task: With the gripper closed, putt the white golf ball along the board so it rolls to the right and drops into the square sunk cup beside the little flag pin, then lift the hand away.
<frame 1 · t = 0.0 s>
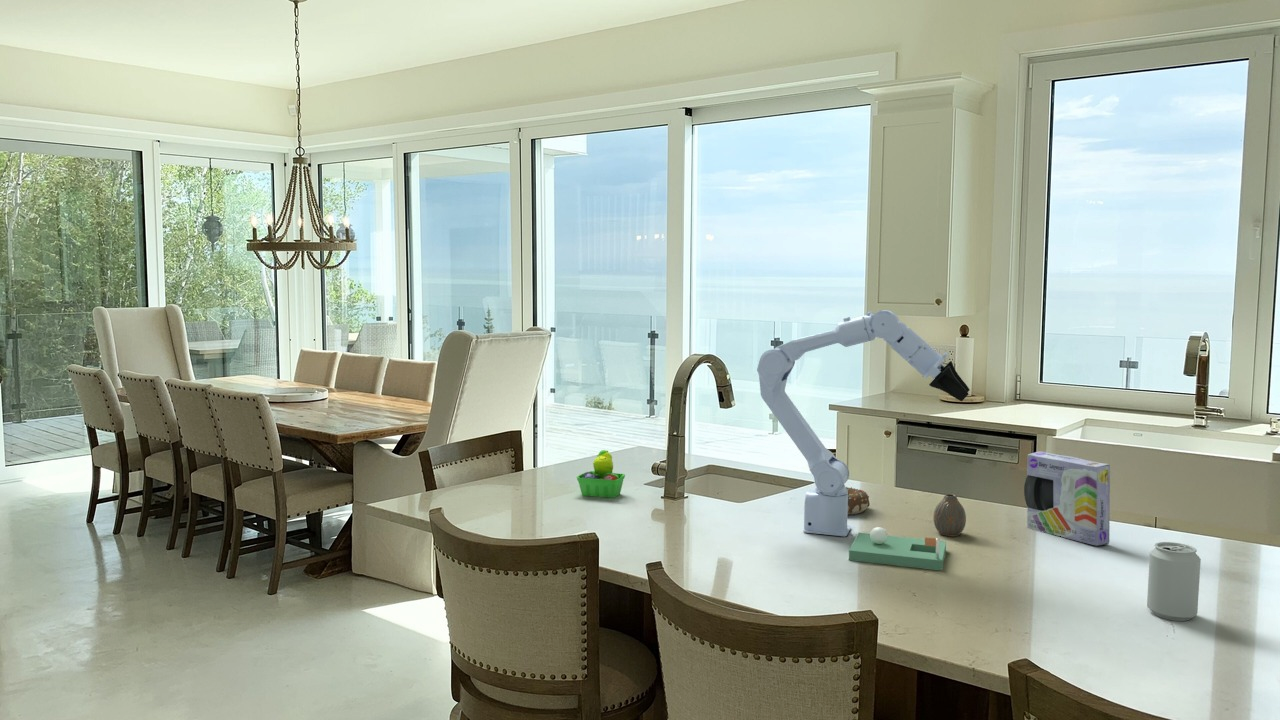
hand: (965, 395, 196), 32 cm above the table, tool tilted 50°, fingers open, 7 cm apart
can: (1171, 615, 158), on the table
board: (898, 555, 191), on the table
fruit basket: (601, 495, 243), on the table
vase: (949, 534, 207), on the table
donut: (840, 510, 229), on the table
ball: (878, 543, 192), point 2 cm above the table, touching board
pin: (936, 568, 182), resting on board
cake pan box: (1064, 536, 206), on the table
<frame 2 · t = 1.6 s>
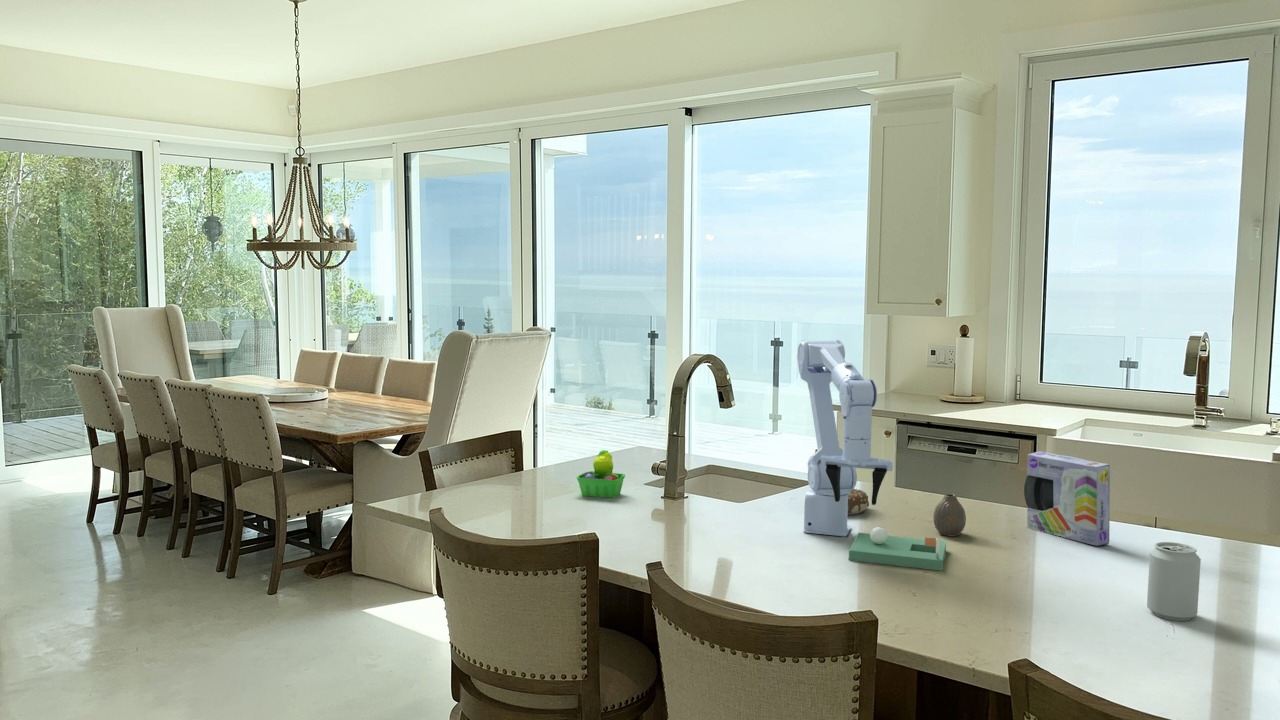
hand: (855, 502, 193), 10 cm above the table, tool pointing down, fingers open, 7 cm apart
nothing on the table moved.
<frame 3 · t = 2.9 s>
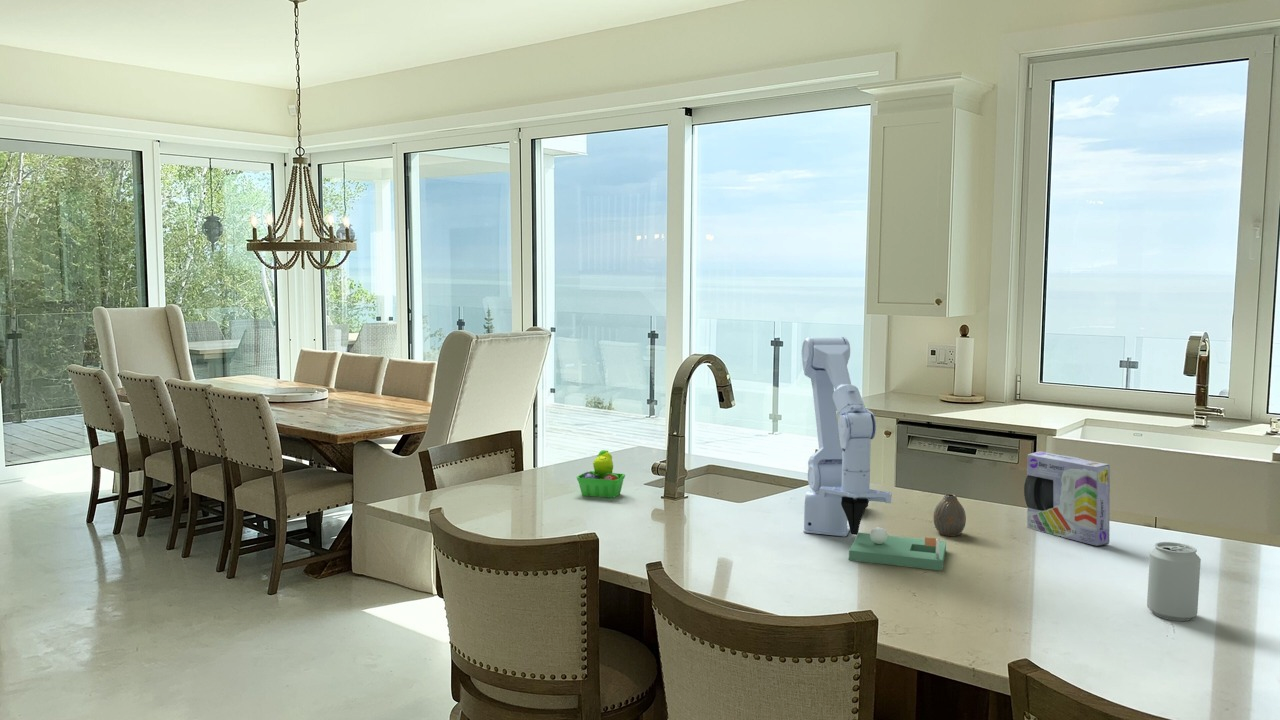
hand: (854, 533, 194), 4 cm above the table, tool pointing down, fingers closed
nothing on the table moved.
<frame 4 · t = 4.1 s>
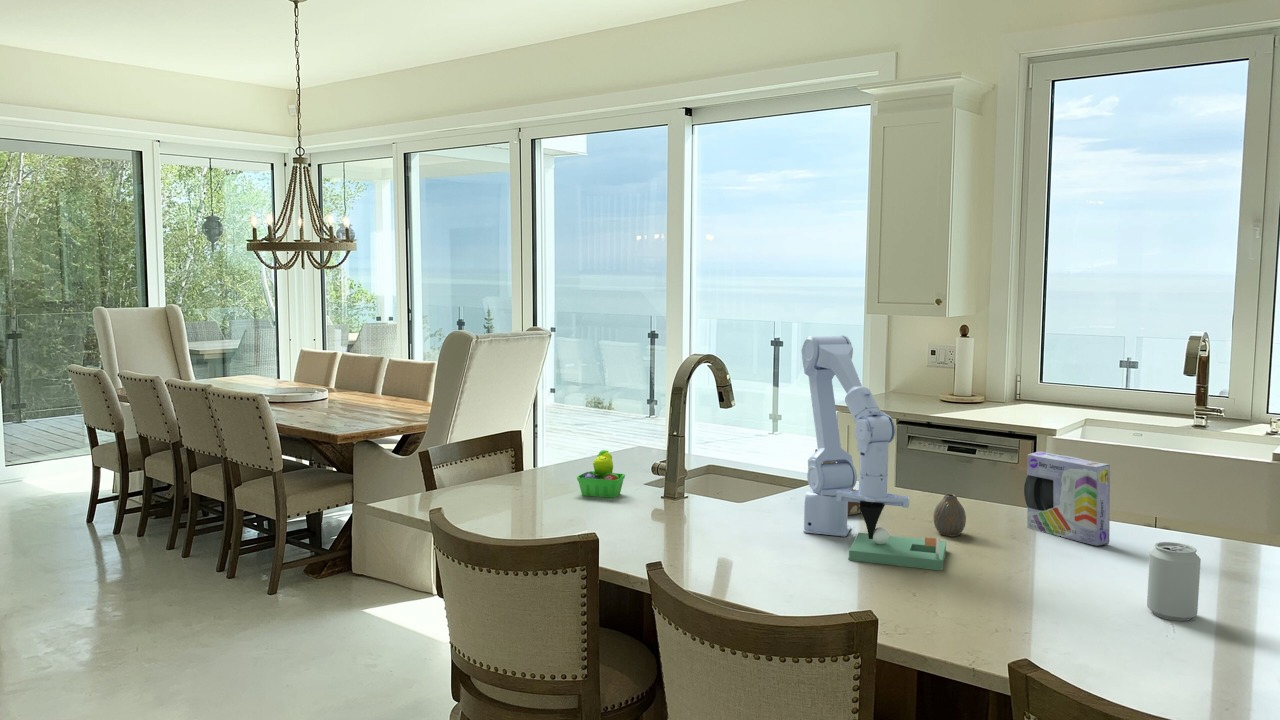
hand: (871, 537, 193), 3 cm above the table, tool pointing down, fingers closed, pressing on ball
ball: (878, 543, 192), point 2 cm above the table, tilted 11°, touching gripper, board
everything else where it was.
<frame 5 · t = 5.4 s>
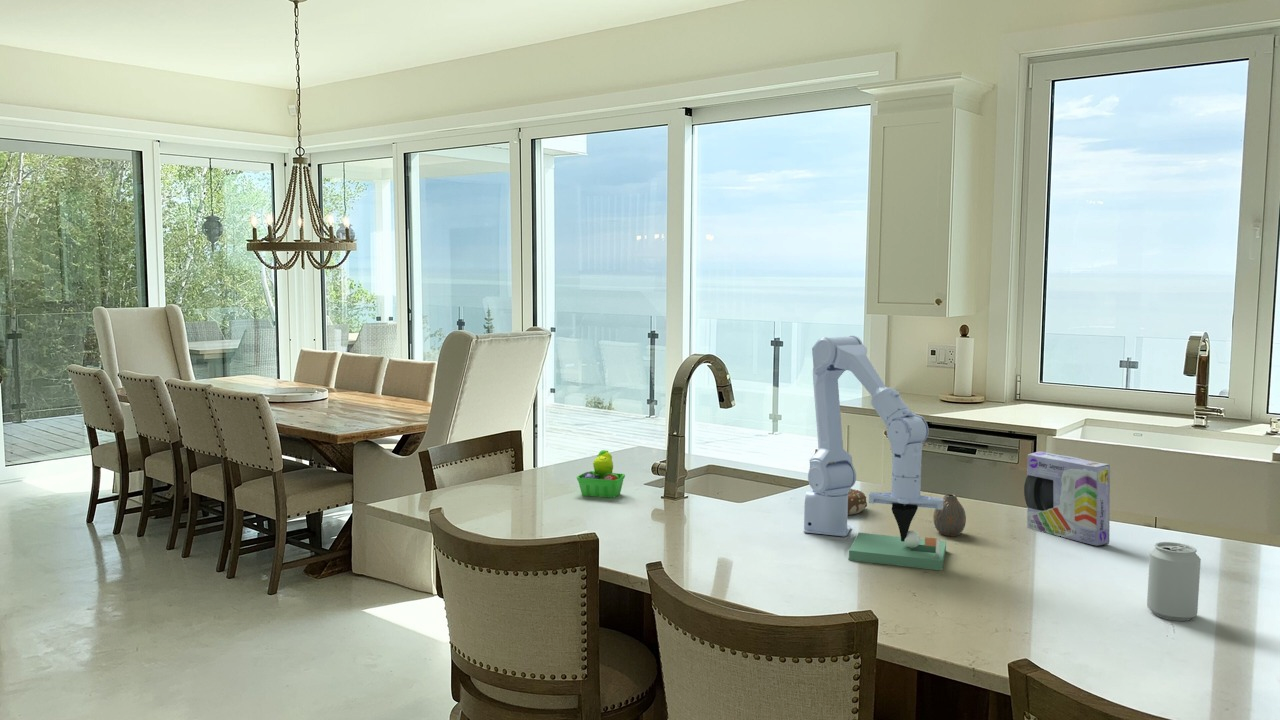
hand: (904, 540, 190), 3 cm above the table, tool pointing down, fingers closed, pressing on ball
ball: (917, 533, 189), point 5 cm above the table, tilted 140°, touching gripper, board
everything else where it was.
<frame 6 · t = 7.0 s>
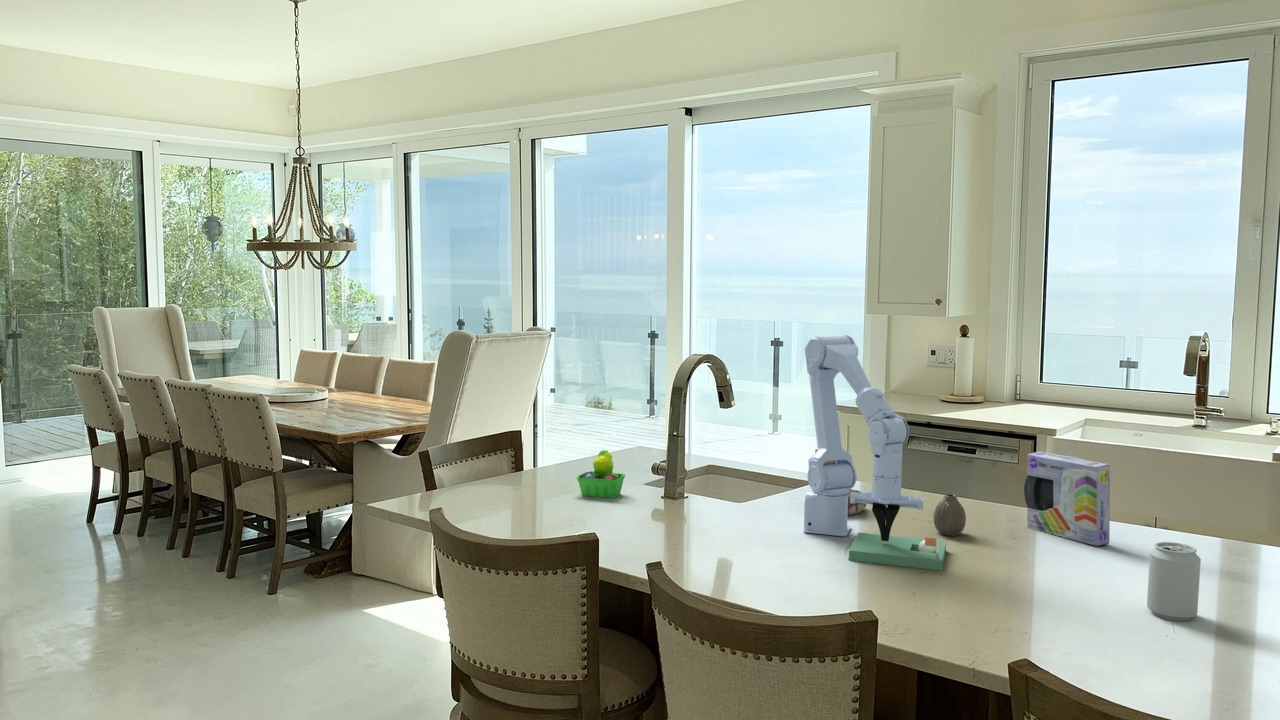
hand: (885, 539, 192), 3 cm above the table, tool pointing down, fingers closed
ball: (933, 554, 188), point 1 cm above the table, tilted 47°, touching board
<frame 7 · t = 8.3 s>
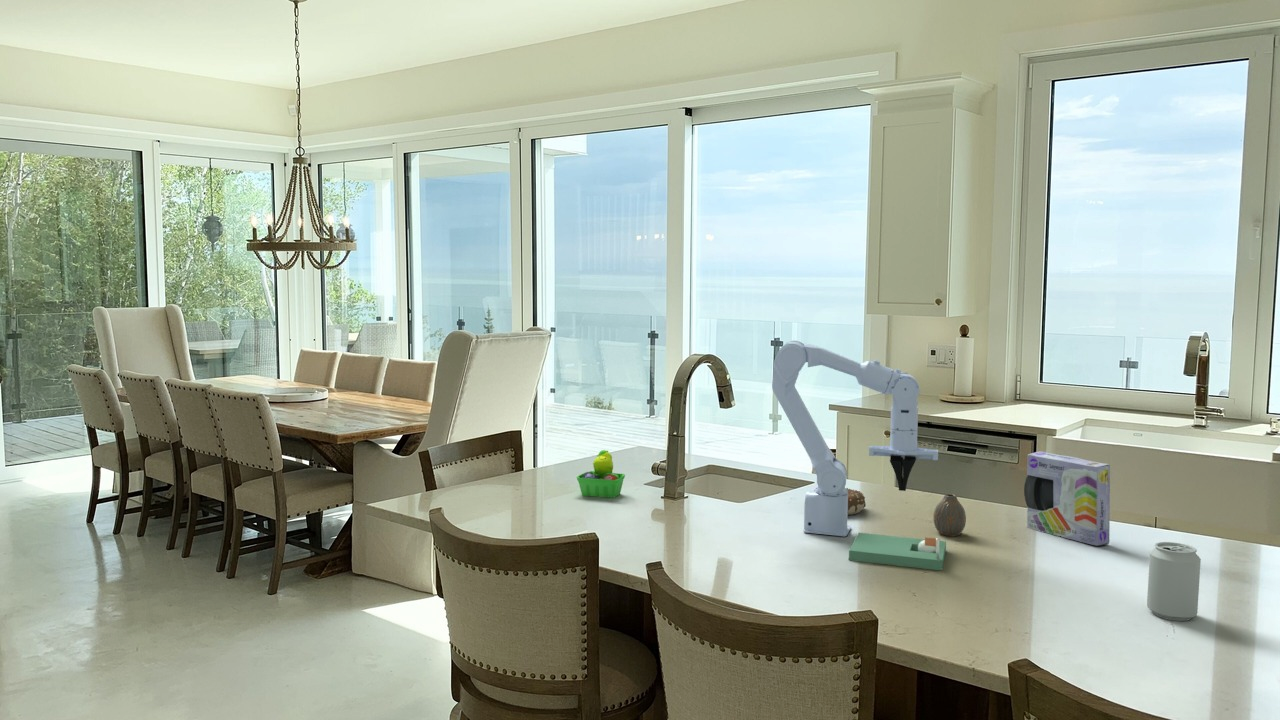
hand: (902, 489, 204), 10 cm above the table, tool pointing down, fingers closed
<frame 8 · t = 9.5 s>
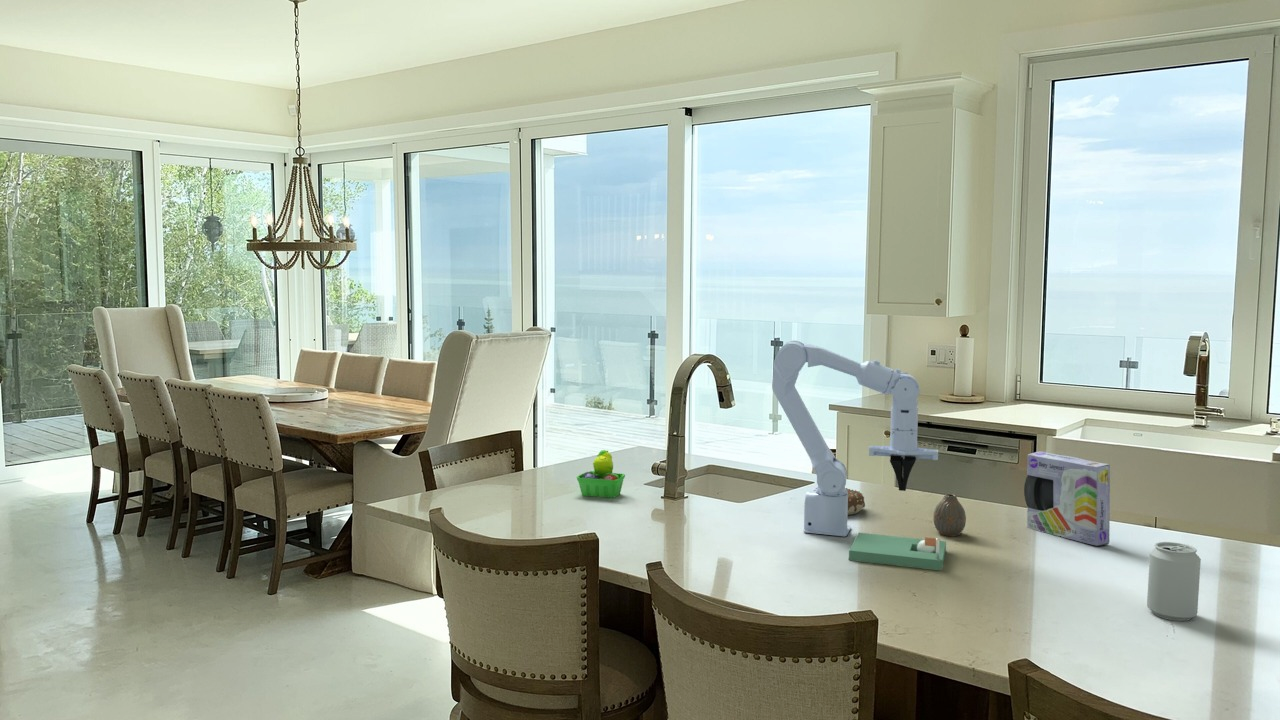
hand: (902, 489, 204), 10 cm above the table, tool pointing down, fingers closed
at the end: ball 1.9 cm from the target spot on the board, point 1.1 cm above the board's base; the gripper is holding nothing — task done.
